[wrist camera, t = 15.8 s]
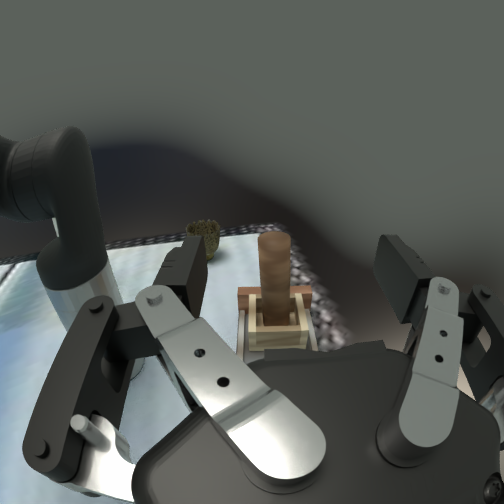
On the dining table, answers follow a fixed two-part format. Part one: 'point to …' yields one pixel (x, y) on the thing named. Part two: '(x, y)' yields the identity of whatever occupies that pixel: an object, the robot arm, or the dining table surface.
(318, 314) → the dining table surface
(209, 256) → the cup
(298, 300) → the sliding block
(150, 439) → the dining table surface
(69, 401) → the robot arm
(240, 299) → the rail board
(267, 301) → the dowel
